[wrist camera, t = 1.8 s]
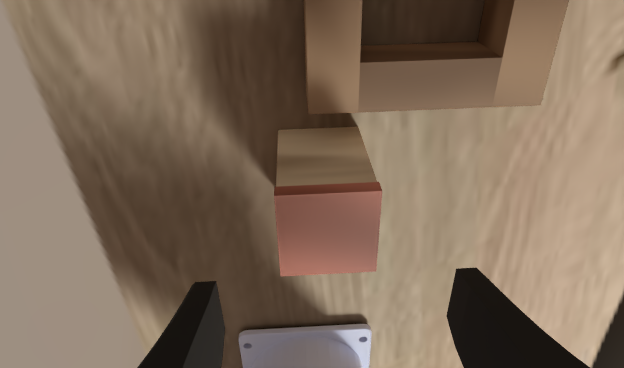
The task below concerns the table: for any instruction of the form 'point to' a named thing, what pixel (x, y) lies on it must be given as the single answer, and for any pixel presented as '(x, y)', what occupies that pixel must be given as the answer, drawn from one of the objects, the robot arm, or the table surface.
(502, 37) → the wooden square frame
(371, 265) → the pink-ended wooden beam
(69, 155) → the table surface
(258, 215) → the table surface
